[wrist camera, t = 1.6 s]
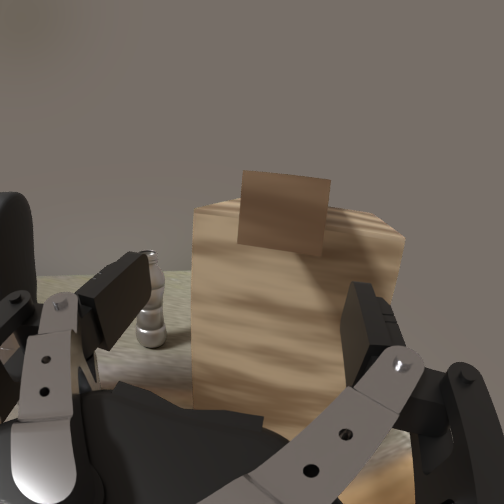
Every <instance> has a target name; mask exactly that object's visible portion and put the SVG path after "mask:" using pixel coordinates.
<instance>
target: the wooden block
mask: <svg viewBox="0 0 504 504" xmlns="http://www.w3.org/2000/svg"><path fill="white" fill-rule="evenodd" d="M240 200H241V198H238V199H234V200H229V201H225V202H220V203H216V204H211V205H207V206H203V207H198V208H194V220H193V243H192V244H193V245H192V277H191V352H192V385H193V407H194V409H195V410H228V411H234V412H239V413H245V414H252V415H258V416H264V420H263V426H262V427H264V428H267V429H269V430H272V431H274V432H276V433H278V434H280V435H281V436H283V437H285V438H286V439H288V440H289V441H291V440H292V439H293V438H295V437H296V436H297V435H298V434H299V433H300V432H301V431H302V430H303V429H305V428H306V427H307V426H308V425H309V424H310V423H311V422H312V421H313V420H314V419H315V418H316V417H317V416H319V415H320V414H321V413H322V412H323V411H324V410H325V409H326V408H327V407H328V406H329V405H330V404H331V403H332V402H333V401H334V400H335V399H336V398H337V397H338V396H339V394H340V393H341V392H342V391H343V390H344V389H345V388H346V380H345V370H344V361H343V352H342V343H341V335H340V321H341V316H342V312H343V308H344V304H345V301H346V297H347V293H348V289H349V285H350V283H351V281H356V282H365V283H371V284H372V287H373V290H374V292H375V295H376V297H382V298H383V299H384V300H385V301H386V302H387V303H388V304H389V305H390V304H391V300H392V296H393V293H394V289H395V285H396V280H397V276H398V272H399V268H400V263H401V258H402V253H403V249H404V244H405V237H403V236H402V235H401V234H399V233H398V232H397V231H396V230H394V229H393V228H392V227H390V226H389V225H387V224H386V223H385V222H383V221H382V220H381V219H379V218H378V217H376V216H375V215H373V214H372V213H366V212H360V211H354V210H348V209H341V208H335V207H328V209H327V217H326V224H325V232H324V239H323V246H322V252H321V257H320V256H314V255H307V254H301V253H294V252H287V251H281V250H274V249H267V248H261V247H254V246H247V245H241V244H237V237H238V224H239V212H240Z"/></svg>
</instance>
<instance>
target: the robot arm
mask: <svg viewBox="0 0 504 504" xmlns="http://www.w3.org/2000/svg"><path fill="white" fill-rule="evenodd" d="M33 241H34V240H33V223H32V215H31V210H30V206H29V204H28V201H27V200H26V198H25V197H24V196H23V195H22V194H20V193H18V192H2V193H0V504H343V503H342V502H341V501H340V500H339V498H338V496H339V495H340V494H341V493H342V491H343V490H344V489H345V488H346V487H347V486H348V485H349V484H350V482H351V481H352V480H353V479H354V478H355V476H356V475H357V474H358V473H359V472H360V470H361V469H362V468H363V467H364V465H365V464H366V463H367V461H368V460H369V459H370V458H371V456H372V455H373V454H374V452H375V451H376V449H377V448H378V447H379V445H380V444H381V443H382V441H383V440H384V438H385V437H386V435H387V434H388V432H389V431H390V429H391V428H395V429H398V430H402V431H407V432H410V439H411V447H412V457H413V468H414V482H415V504H504V435H503V432H502V429H501V425H500V422H499V420H498V417H497V414H496V411H495V408H494V405H493V403H492V400H491V397H490V395H489V392H488V390H487V387H486V385H485V382H484V380H483V377H482V375H481V374H480V372H479V371H478V370H477V369H476V368H474V367H473V366H472V365H470V364H467V363H464V362H456V363H454V364H452V365H451V366H450V367H449V369H448V370H447V372H446V373H444V372H440V371H436V370H432V369H429V368H426V367H425V366H424V362H423V360H422V358H421V357H420V355H419V354H418V353H416V352H415V351H414V350H412V349H410V348H407V347H406V345H405V342H404V340H403V337H402V334H401V331H400V329H399V326H398V324H397V321H396V319H395V316H394V313H393V311H392V308H391V306H390V305H389V304H388V303H387V302H386V301H385V300H384V299H383V298H382V297H376V295H375V292H374V290H373V287H372V284H371V283H365V282H356V281H351V283H350V285H349V289H348V293H347V297H346V301H345V304H344V308H343V312H342V316H341V321H340V335H341V343H342V352H343V361H344V370H345V380H346V388H345V389H344V390H343V391H342V392H341V393H340V394H339V396H338V397H337V398H336V399H335V400H334V401H333V402H332V403H331V404H330V405H329V406H328V407H327V408H326V409H325V410H324V411H323V412H322V413H321V414H320V415H319V416H317V417H316V418H315V419H314V420H313V421H312V422H311V423H310V424H309V425H308V426H307V427H306V428H305V429H303V430H302V431H301V432H300V433H299V434H298V435H297V436H296V437H295V438H293V439H292V440H291V441H289V440H288V439H286V438H285V437H283V436H281V435H280V434H278V433H276V432H274V431H272V430H269V429H267V428H264V427H262V426H263V420H264V416H258V415H252V414H245V413H239V412H234V411H228V410H195V409H183V408H180V407H178V406H176V405H174V404H172V403H170V402H168V401H167V400H165V399H163V398H161V397H159V396H158V395H156V394H154V393H152V392H151V391H148V390H145V389H142V388H139V387H135V386H132V385H129V384H127V383H124V382H121V381H119V382H118V383H117V385H116V387H115V388H114V390H101V387H100V380H99V372H98V364H97V356H96V353H95V350H96V349H97V347H98V348H101V349H104V350H107V351H110V350H111V348H112V347H113V346H114V344H115V343H116V342H117V340H118V339H119V338H120V337H121V335H122V334H123V333H124V331H125V330H126V329H127V328H128V326H129V325H130V324H131V323H132V321H133V320H134V319H135V318H136V316H137V315H138V314H139V313H140V311H141V310H142V309H143V308H144V306H145V305H146V304H147V303H148V301H149V299H150V297H151V292H152V286H151V278H150V270H149V261H148V257H147V255H146V254H144V253H137V252H127V253H126V254H125V255H123V256H122V257H121V258H120V259H119V260H117V261H116V262H114V263H112V264H110V265H107V266H106V267H105V268H104V269H102V270H101V271H100V272H99V273H97V274H96V275H95V276H94V277H93V278H91V279H90V280H89V281H88V282H87V283H85V284H84V285H83V286H82V287H81V288H80V289H78V290H77V291H76V292H75V293H71V292H61V293H57V294H54V295H52V296H51V297H49V298H48V299H47V300H46V301H45V302H44V304H39V303H37V280H36V271H35V259H34V242H33ZM16 404H18V406H19V415H18V418H16V419H13V420H10V421H7V422H4V421H5V420H6V418H7V417H8V415H9V414H10V412H11V411H12V409H13V408H14V406H15V405H16ZM3 422H4V423H3ZM450 428H451V430H450ZM451 432H452V434H451ZM452 437H453V439H452Z"/></svg>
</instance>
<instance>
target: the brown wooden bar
mask: <svg viewBox="0 0 504 504" xmlns="http://www.w3.org/2000/svg"><path fill="white" fill-rule="evenodd" d="M330 183H331V180H328V179H319V178H312V177H305V176H296V175H288V174H278V173H267V172H256V171H245V170H244V171H243V177H242V189H241V200H240V212H239V224H238V237H237V244H241V245H247V246H254V247H261V248H267V249H274V250H281V251H287V252H294V253H301V254H307V255H314V256H320V257H321V252H322V246H323V239H324V232H325V224H326V217H327V209H328V201H329V192H330Z"/></svg>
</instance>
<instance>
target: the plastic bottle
mask: <svg viewBox="0 0 504 504" xmlns="http://www.w3.org/2000/svg"><path fill="white" fill-rule="evenodd" d="M138 253H144V254H146V255H147V257H148V261H149V270H150V278H151V286H152V292H151V297H150V299H149V301H148V303H147V304H146V305H145V306H144V308H143V309H142V310H141V311H140V313H139V314H138V315H137V324H136V337H137V340H138V342H139V343H140V344H141V345H143V346H145V347H149V348H154V347H159V346H161V345H162V344H163V343H164V342H165V340H166V336H167V331H166V326H165V323H164V316H163V294H164V286H165V277H164V274H163V272H162V271H161V269H160V268H159V267H158V266H157V264H156V263H157V262H158V259H157V252H156V251H154V250H141V251H139V252H138Z"/></svg>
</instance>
